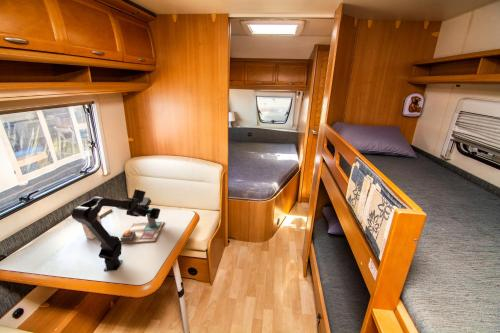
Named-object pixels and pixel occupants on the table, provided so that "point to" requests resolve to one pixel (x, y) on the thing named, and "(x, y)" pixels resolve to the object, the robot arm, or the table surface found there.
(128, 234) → the button
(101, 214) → the washcloth
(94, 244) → the table surface
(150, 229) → the colouring board
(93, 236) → the ink cartridge box
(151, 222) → the teal rubber stamp
